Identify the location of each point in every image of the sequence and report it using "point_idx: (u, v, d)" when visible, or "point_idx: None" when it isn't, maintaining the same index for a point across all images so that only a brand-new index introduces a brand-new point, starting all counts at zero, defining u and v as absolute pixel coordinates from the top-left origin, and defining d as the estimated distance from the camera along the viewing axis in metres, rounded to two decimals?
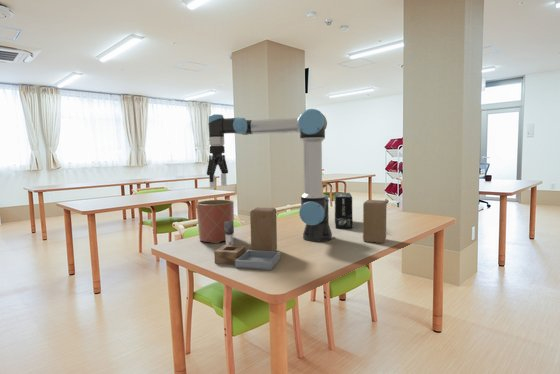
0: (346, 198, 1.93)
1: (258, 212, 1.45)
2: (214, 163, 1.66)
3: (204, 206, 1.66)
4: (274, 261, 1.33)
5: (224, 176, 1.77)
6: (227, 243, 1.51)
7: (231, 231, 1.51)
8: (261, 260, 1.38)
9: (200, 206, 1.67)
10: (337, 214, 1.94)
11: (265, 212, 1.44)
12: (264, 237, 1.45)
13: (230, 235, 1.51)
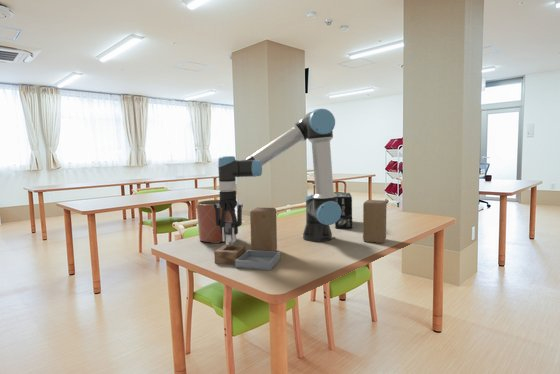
0: (346, 198, 1.93)
1: (258, 212, 1.45)
2: None
3: (204, 206, 1.66)
4: (274, 261, 1.33)
5: None
6: (227, 243, 1.51)
7: (231, 231, 1.51)
8: (261, 260, 1.38)
9: (200, 206, 1.67)
10: None
11: (265, 212, 1.44)
12: (264, 237, 1.45)
13: (230, 235, 1.51)
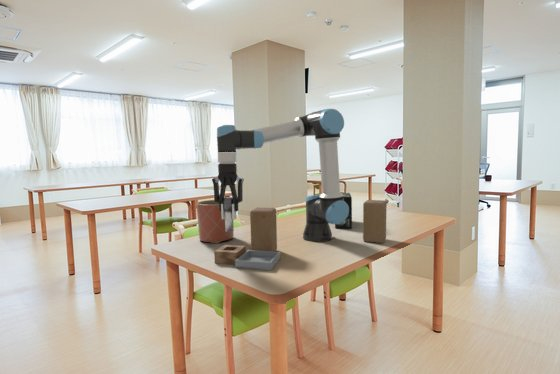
0: (345, 198, 1.93)
1: (258, 212, 1.45)
2: None
3: (204, 206, 1.66)
4: (274, 261, 1.33)
5: None
6: (226, 221, 1.38)
7: (231, 208, 1.37)
8: (261, 260, 1.38)
9: (200, 206, 1.67)
10: None
11: (265, 212, 1.44)
12: (264, 237, 1.45)
13: (230, 212, 1.38)
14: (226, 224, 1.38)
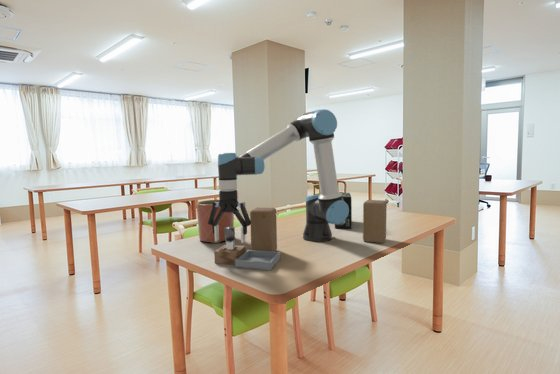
0: (345, 198, 1.93)
1: (258, 212, 1.45)
2: None
3: (204, 206, 1.66)
4: (274, 261, 1.33)
5: None
6: None
7: (232, 238, 1.39)
8: (261, 260, 1.38)
9: (200, 206, 1.67)
10: None
11: (265, 212, 1.44)
12: (264, 237, 1.45)
13: (231, 242, 1.39)
14: None
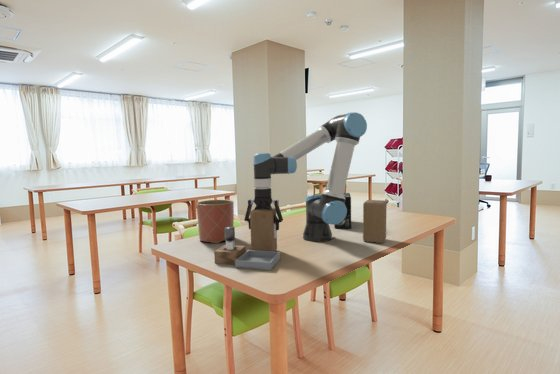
0: None
1: (258, 212, 1.45)
2: (255, 208, 1.50)
3: (204, 206, 1.66)
4: (274, 261, 1.33)
5: None
6: None
7: (232, 238, 1.39)
8: (261, 260, 1.38)
9: (200, 206, 1.67)
10: None
11: (265, 212, 1.44)
12: (264, 237, 1.45)
13: (231, 242, 1.39)
14: None
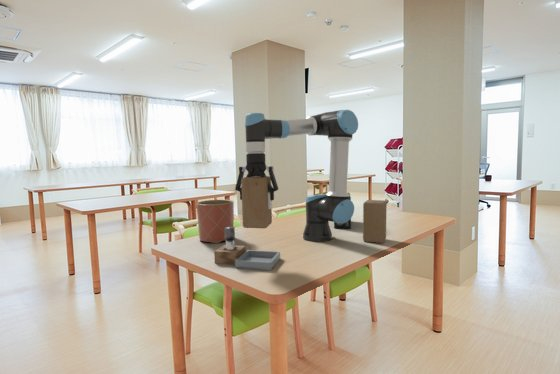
0: None
1: (250, 179, 1.29)
2: (247, 176, 1.34)
3: (204, 206, 1.66)
4: (274, 261, 1.33)
5: None
6: None
7: (232, 238, 1.39)
8: (261, 260, 1.38)
9: (200, 206, 1.67)
10: None
11: (258, 179, 1.28)
12: (257, 207, 1.29)
13: (231, 242, 1.39)
14: None
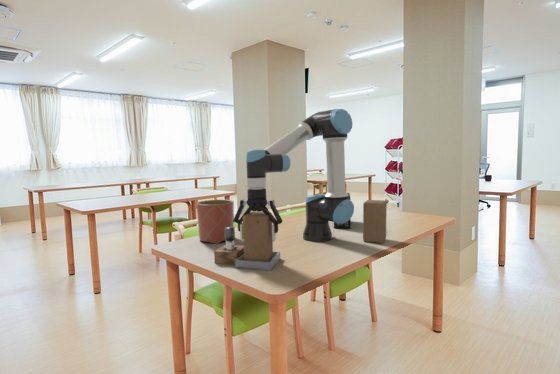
0: None
1: (251, 217, 1.30)
2: (247, 210, 1.35)
3: (204, 206, 1.66)
4: (274, 261, 1.33)
5: None
6: None
7: (232, 238, 1.39)
8: None
9: (200, 206, 1.67)
10: None
11: (259, 217, 1.30)
12: (258, 245, 1.31)
13: (231, 242, 1.39)
14: None
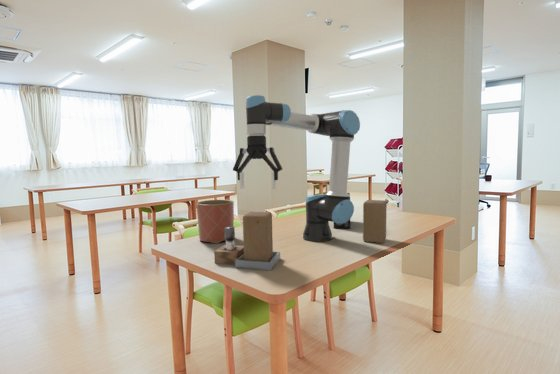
0: None
1: (251, 217, 1.30)
2: None
3: (204, 206, 1.66)
4: (274, 261, 1.33)
5: None
6: None
7: (232, 238, 1.39)
8: None
9: (200, 206, 1.67)
10: None
11: (259, 217, 1.30)
12: (258, 245, 1.31)
13: (231, 242, 1.39)
14: None
